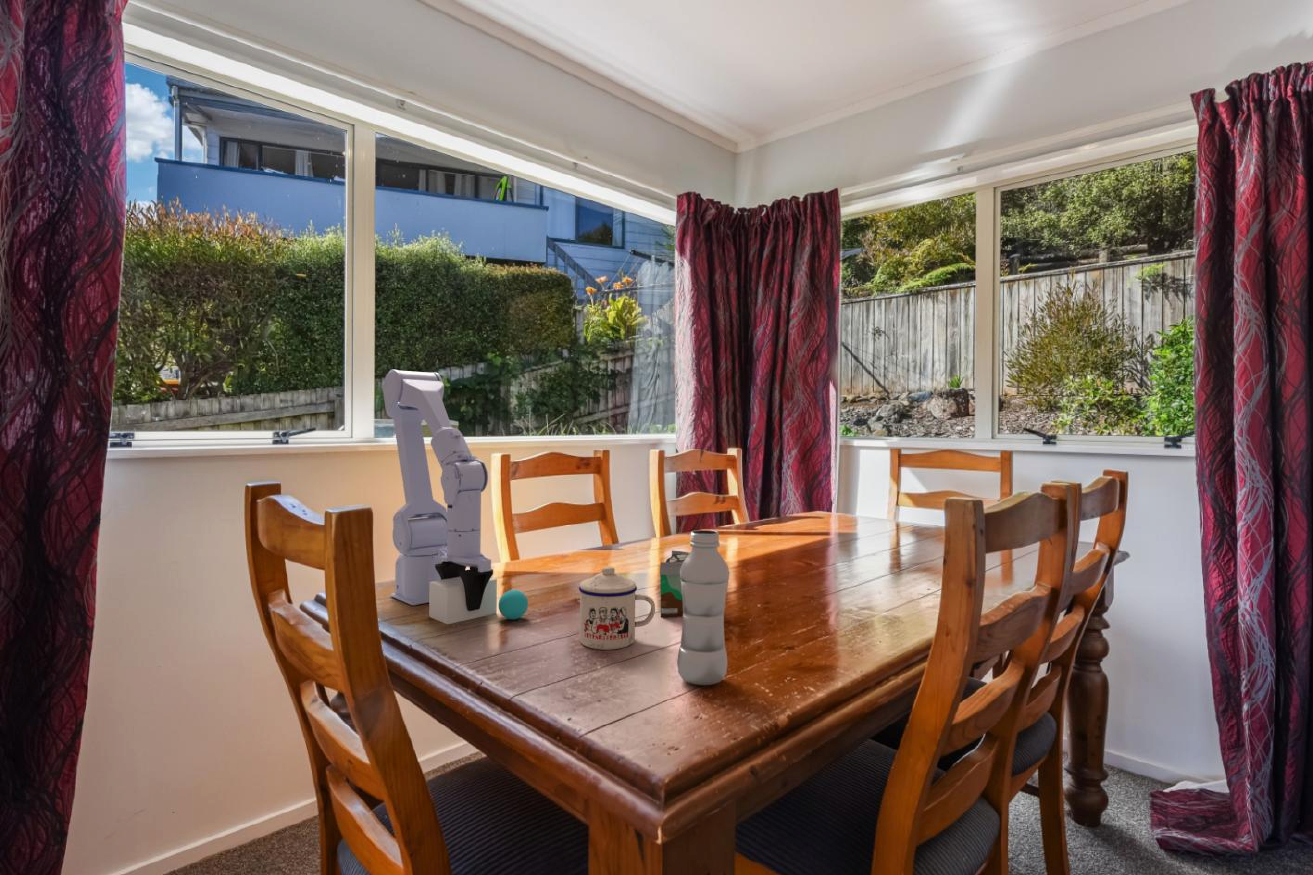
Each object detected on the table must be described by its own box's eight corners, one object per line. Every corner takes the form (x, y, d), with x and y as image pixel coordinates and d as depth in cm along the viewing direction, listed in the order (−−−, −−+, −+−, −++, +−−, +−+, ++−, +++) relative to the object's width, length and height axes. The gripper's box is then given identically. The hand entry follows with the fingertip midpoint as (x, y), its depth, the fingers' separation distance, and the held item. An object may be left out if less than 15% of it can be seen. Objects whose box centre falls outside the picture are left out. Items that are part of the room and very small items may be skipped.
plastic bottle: (674, 673, 91) (676, 528, 91) (722, 672, 92) (725, 528, 92) (679, 692, 85) (682, 536, 85) (732, 691, 86) (734, 536, 85)
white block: (429, 616, 116) (429, 581, 116) (478, 606, 123) (478, 573, 123) (447, 624, 112) (447, 588, 112) (496, 613, 119) (496, 579, 119)
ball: (492, 618, 115) (493, 590, 115) (517, 613, 119) (517, 585, 119) (509, 625, 112) (509, 595, 112) (533, 619, 116) (533, 590, 115)
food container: (693, 622, 115) (694, 564, 115) (659, 619, 116) (659, 562, 116) (703, 603, 127) (704, 551, 127) (671, 601, 128) (672, 549, 128)
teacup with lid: (576, 651, 100) (577, 574, 99) (580, 632, 109) (580, 561, 108) (656, 651, 100) (657, 574, 100) (653, 632, 109) (654, 561, 109)
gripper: (422, 526, 119) (422, 601, 119) (465, 537, 109) (464, 619, 109) (458, 522, 124) (457, 595, 125) (501, 532, 114) (501, 610, 115)
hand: (463, 605), depth 117 cm, fingers closed on white block, 6 cm apart
